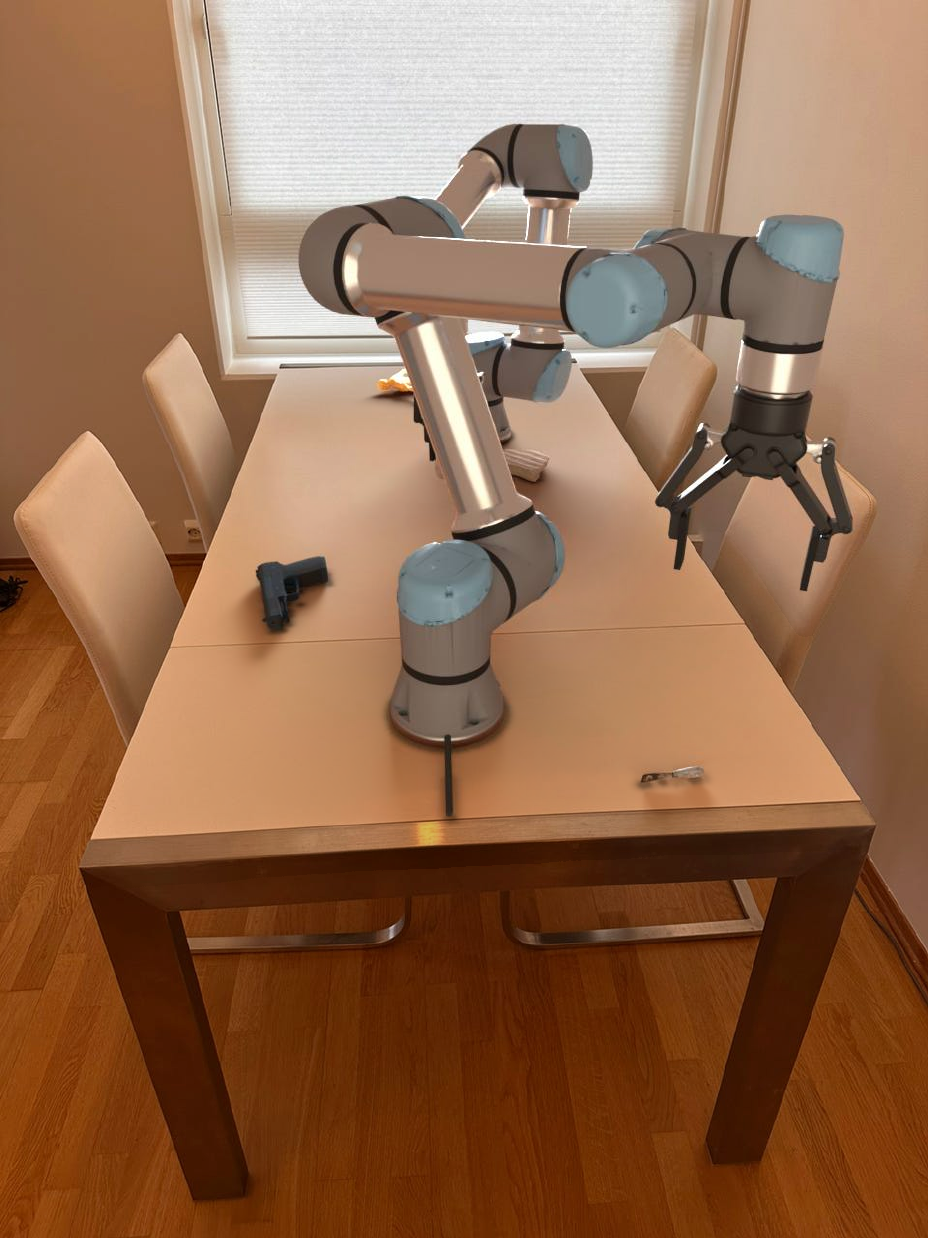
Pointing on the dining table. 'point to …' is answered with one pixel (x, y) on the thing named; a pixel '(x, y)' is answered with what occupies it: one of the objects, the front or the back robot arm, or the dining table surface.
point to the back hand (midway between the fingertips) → (449, 459)
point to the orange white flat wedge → (396, 382)
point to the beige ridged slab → (526, 463)
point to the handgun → (287, 585)
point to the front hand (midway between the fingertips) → (739, 574)
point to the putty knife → (674, 774)
